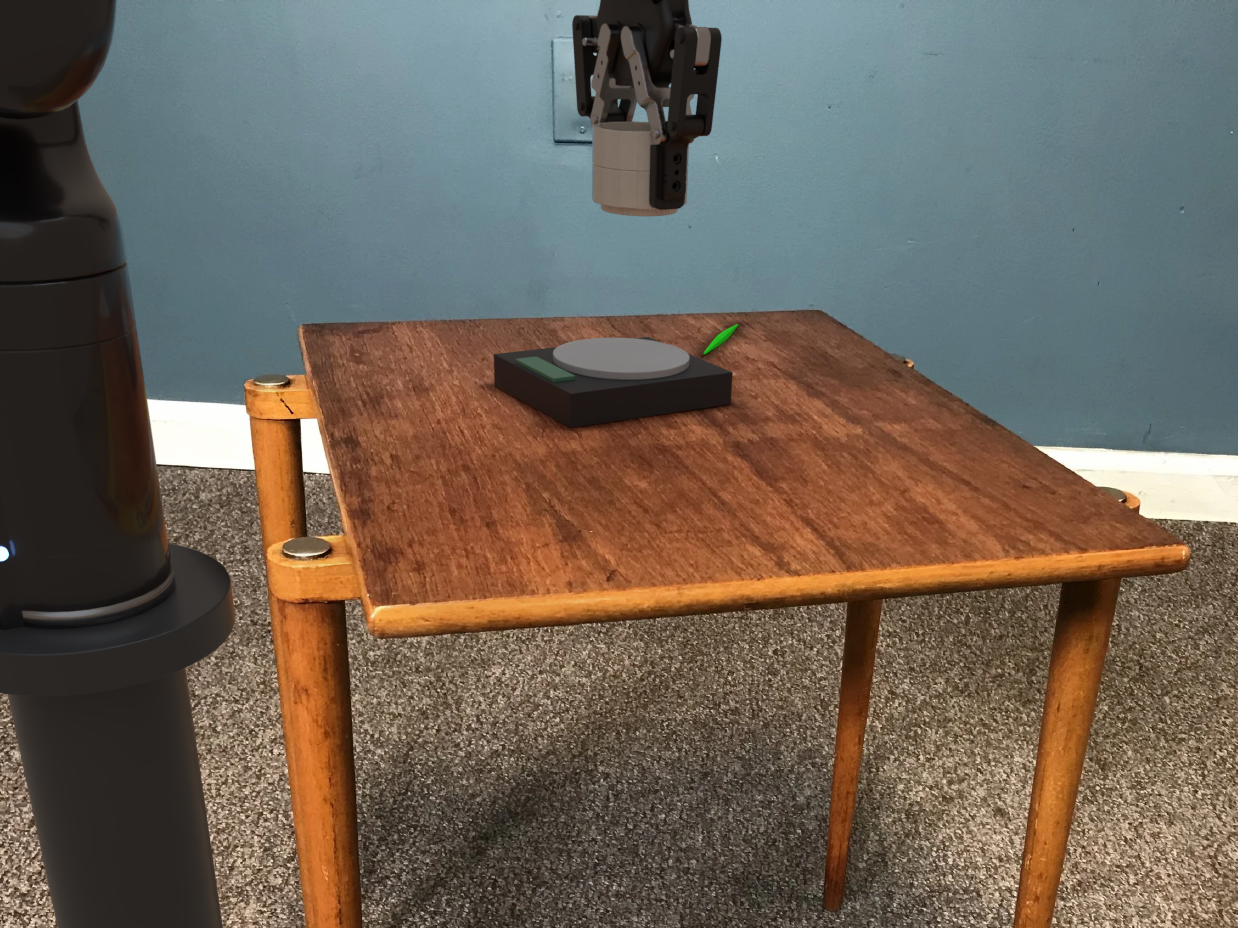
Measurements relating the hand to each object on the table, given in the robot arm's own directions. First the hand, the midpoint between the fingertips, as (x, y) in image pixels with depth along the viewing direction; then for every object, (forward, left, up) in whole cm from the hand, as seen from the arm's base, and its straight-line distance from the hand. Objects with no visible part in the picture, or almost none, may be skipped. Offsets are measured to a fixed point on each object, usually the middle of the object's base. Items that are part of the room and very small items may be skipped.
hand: (639, 199), depth 87 cm
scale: (+4, +10, -16) cm, 19 cm away
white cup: (0, 0, -1) cm, 1 cm away
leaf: (+22, +21, -16) cm, 35 cm away
